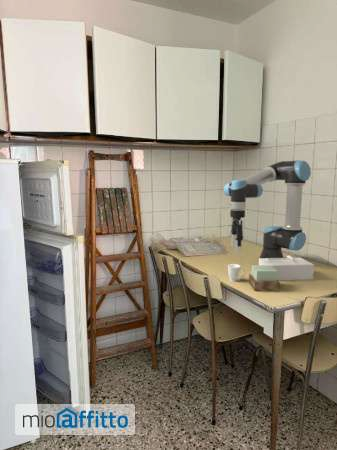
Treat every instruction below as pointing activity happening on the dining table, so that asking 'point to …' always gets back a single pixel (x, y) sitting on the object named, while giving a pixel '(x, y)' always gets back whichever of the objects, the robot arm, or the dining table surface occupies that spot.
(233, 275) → the cup
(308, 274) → the elongated white prism
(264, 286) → the walnut block
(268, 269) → the sage block
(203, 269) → the dining table surface
